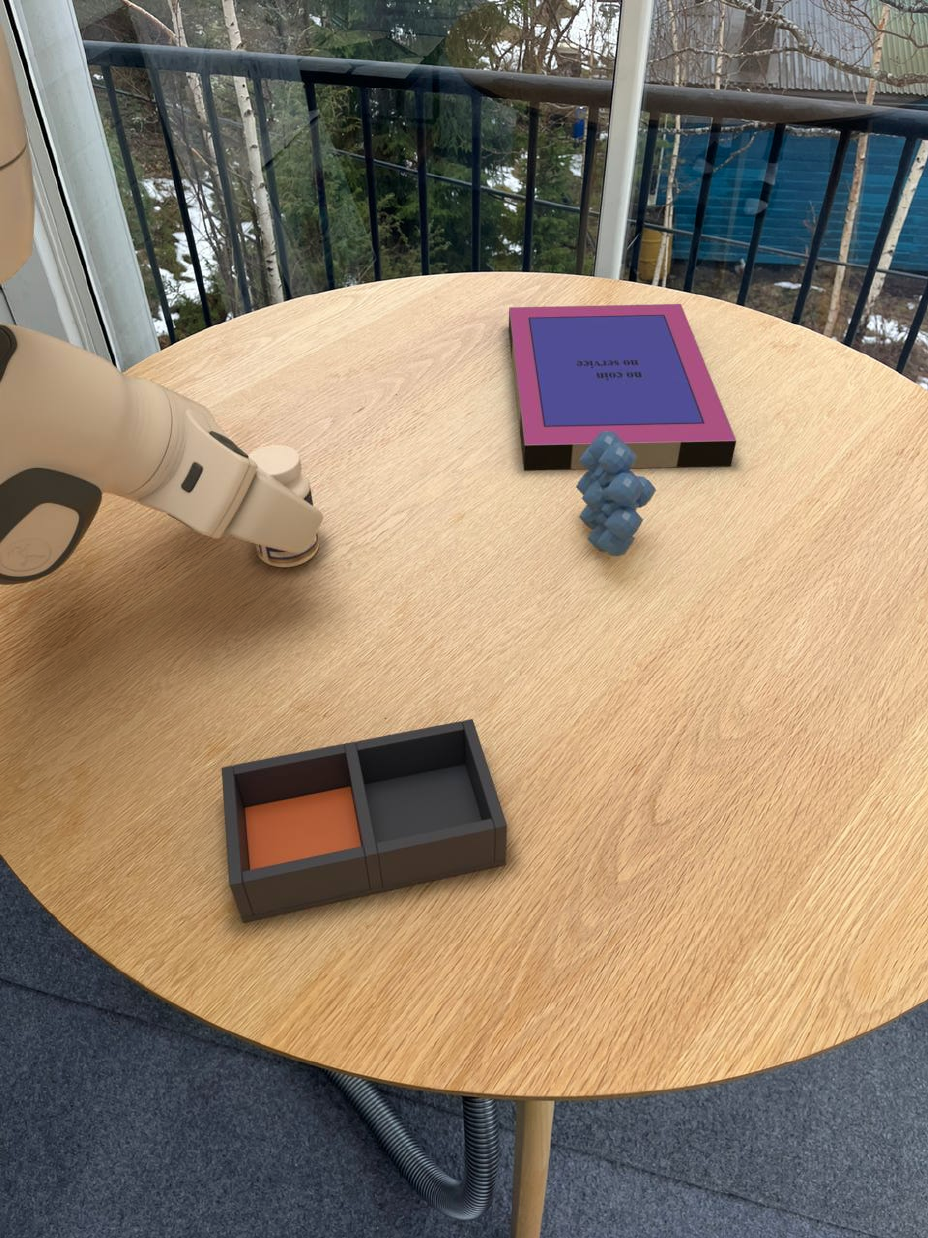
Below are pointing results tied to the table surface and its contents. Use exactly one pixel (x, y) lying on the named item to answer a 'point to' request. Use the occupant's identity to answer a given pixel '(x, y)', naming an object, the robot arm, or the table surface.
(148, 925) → the table surface
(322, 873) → the tray
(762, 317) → the table surface
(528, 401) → the book
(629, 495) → the grapes
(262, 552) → the pill bottle
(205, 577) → the table surface
